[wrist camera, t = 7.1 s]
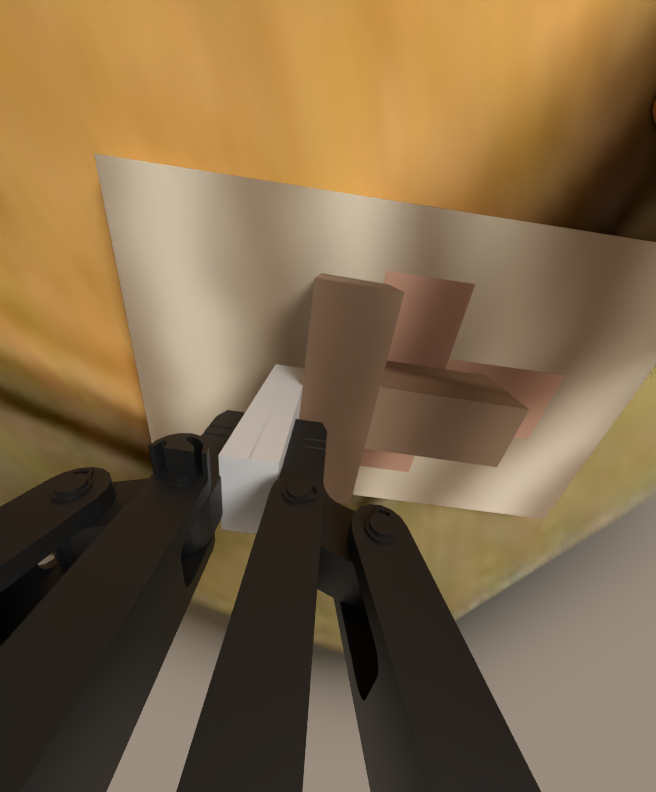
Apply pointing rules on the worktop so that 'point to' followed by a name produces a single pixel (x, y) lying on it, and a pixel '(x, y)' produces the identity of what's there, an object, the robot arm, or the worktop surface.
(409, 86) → the worktop surface
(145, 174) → the birch board
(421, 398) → the walnut T block
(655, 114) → the coffee package
